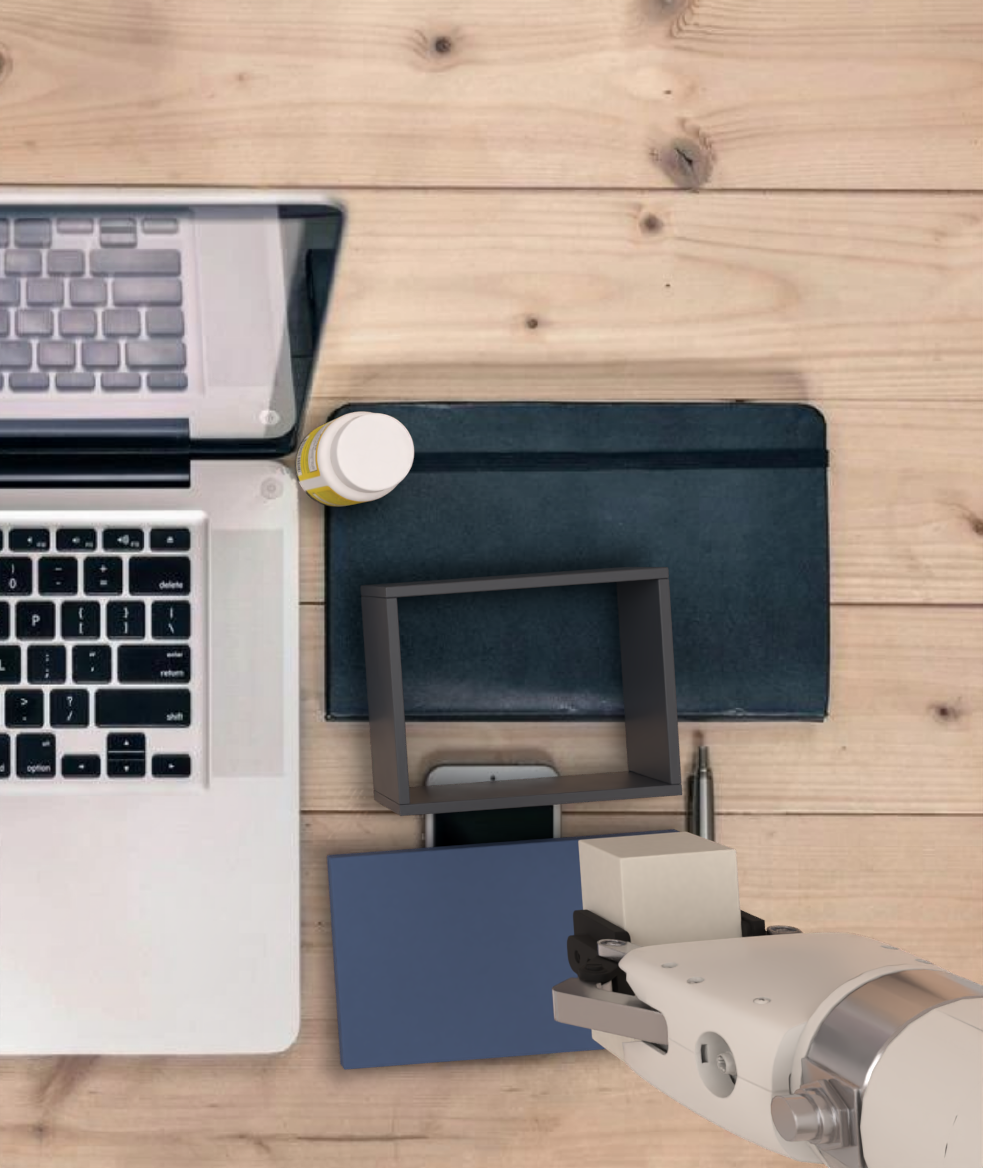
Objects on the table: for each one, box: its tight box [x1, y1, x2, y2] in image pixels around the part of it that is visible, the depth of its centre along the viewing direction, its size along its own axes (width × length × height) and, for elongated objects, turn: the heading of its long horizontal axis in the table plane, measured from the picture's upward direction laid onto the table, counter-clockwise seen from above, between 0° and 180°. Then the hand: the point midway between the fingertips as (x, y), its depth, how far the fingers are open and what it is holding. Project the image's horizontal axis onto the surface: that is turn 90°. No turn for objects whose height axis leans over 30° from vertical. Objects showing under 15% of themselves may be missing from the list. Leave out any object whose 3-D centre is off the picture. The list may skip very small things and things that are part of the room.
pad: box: [326, 828, 681, 1071], centre depth 75 cm, size 12×20×2 cm, turn 94°
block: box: [578, 831, 742, 1065], centre depth 58 cm, size 9×5×4 cm, turn 4°
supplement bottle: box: [294, 411, 415, 508], centre depth 71 cm, size 5×5×8 cm
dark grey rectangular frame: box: [359, 566, 683, 817], centre depth 73 cm, size 12×15×6 cm
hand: (647, 939), depth 59 cm, fingers closed on block, 5 cm apart
